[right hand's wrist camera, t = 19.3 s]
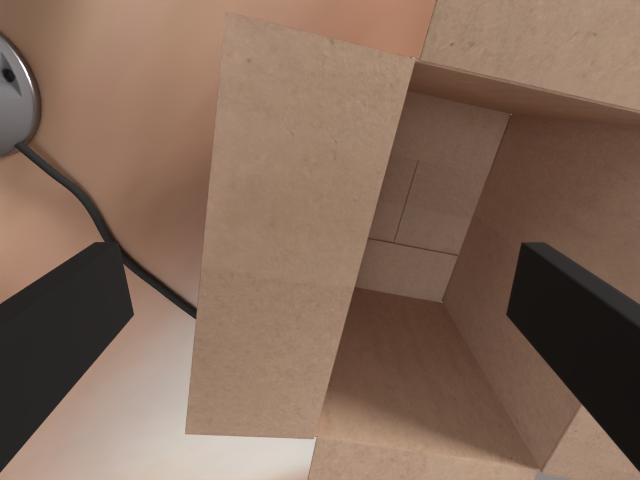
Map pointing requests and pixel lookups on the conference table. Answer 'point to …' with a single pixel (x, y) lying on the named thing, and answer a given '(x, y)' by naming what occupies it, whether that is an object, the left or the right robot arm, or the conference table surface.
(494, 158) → the box
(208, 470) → the conference table surface
